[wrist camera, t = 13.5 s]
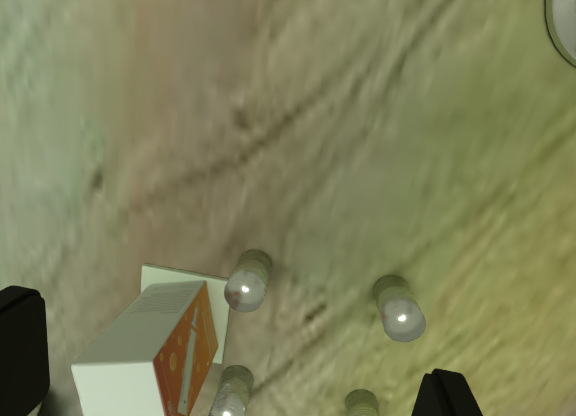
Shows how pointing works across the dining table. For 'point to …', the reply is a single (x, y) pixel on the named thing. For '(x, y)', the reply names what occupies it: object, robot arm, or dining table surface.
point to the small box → (150, 355)
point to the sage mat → (215, 293)
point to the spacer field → (249, 296)
